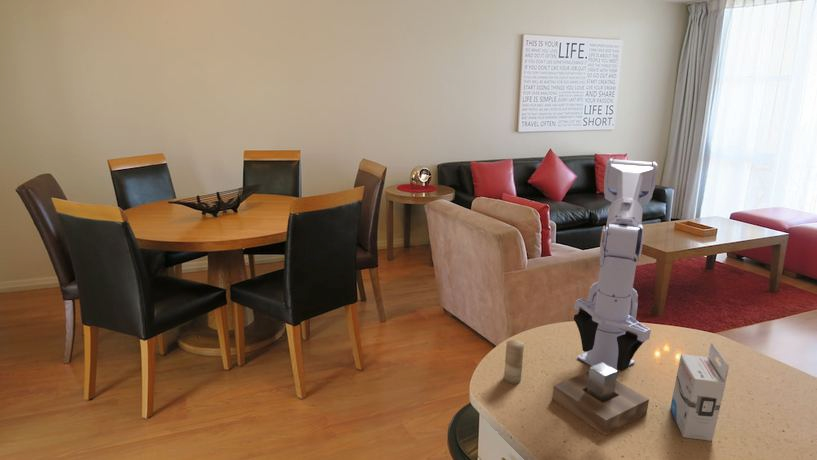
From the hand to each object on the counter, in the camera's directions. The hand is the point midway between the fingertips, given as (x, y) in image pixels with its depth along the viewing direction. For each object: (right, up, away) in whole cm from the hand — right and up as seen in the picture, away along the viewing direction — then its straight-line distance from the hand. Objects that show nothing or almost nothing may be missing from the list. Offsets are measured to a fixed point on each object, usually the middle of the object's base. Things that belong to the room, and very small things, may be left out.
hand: (604, 359), depth 95 cm
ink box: (+15, -11, -2) cm, 19 cm away
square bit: (0, -10, +3) cm, 10 cm away
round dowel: (-15, -7, +11) cm, 19 cm away
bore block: (0, -9, +3) cm, 10 cm away
